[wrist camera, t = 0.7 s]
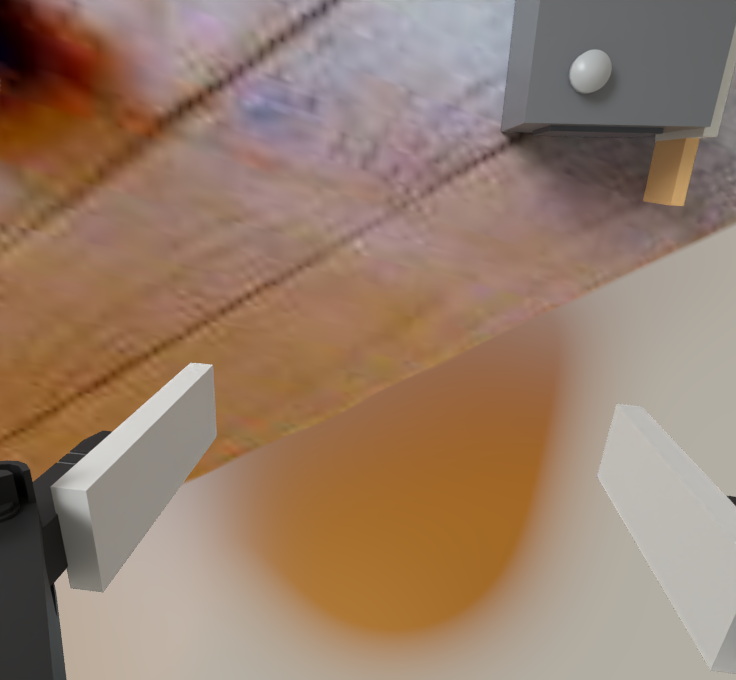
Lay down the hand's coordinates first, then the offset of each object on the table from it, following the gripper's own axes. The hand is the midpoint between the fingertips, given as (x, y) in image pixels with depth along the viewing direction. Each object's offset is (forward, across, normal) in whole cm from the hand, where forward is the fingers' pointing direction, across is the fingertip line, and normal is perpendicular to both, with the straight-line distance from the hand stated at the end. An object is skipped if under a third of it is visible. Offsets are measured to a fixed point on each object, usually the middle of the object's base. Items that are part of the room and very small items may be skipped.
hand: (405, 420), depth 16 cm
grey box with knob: (+24, +10, +16) cm, 31 cm away
